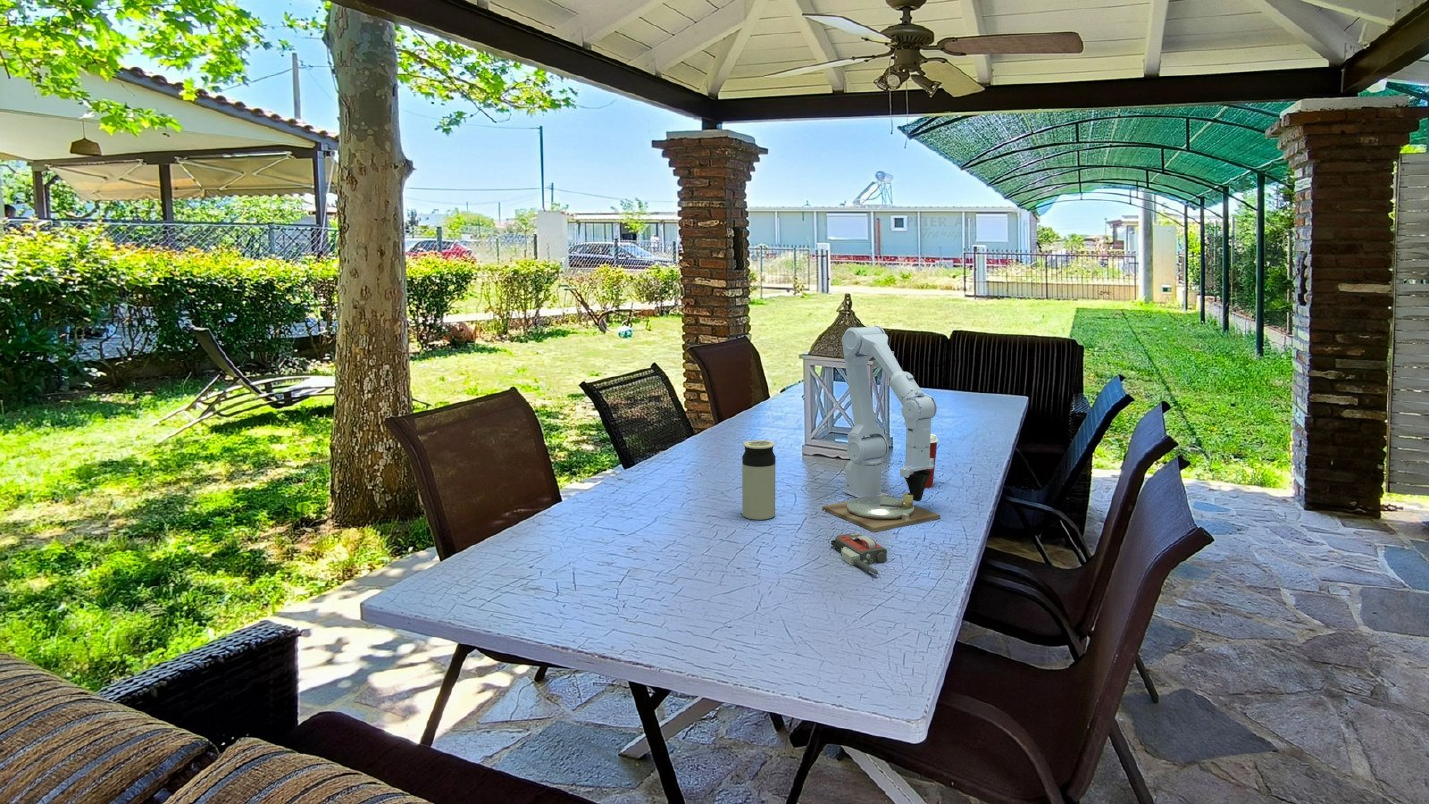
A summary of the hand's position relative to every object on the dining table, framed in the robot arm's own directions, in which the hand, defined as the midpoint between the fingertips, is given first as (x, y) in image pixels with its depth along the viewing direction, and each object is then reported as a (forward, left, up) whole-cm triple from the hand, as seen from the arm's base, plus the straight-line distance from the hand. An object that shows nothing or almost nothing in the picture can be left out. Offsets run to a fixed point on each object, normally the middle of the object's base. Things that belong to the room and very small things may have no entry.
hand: (916, 500), depth 213 cm
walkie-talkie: (+20, -32, -4) cm, 38 cm away
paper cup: (-18, +18, -3) cm, 26 cm away
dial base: (-3, -9, -3) cm, 10 cm away
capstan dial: (-3, -9, -2) cm, 9 cm away
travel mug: (-17, -35, -3) cm, 39 cm away
